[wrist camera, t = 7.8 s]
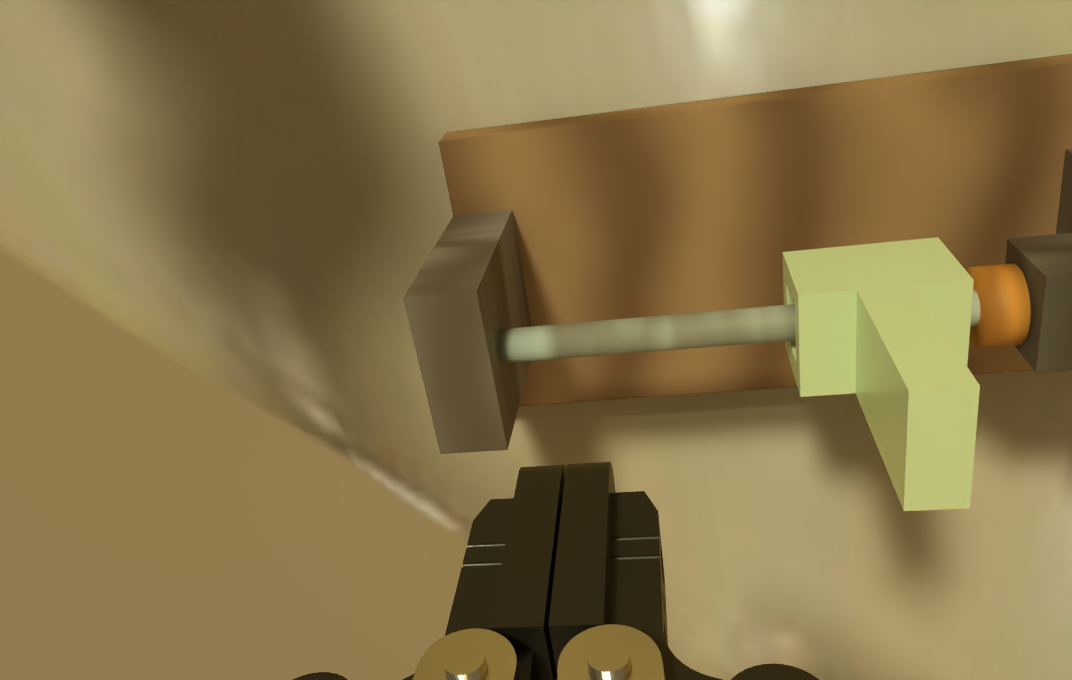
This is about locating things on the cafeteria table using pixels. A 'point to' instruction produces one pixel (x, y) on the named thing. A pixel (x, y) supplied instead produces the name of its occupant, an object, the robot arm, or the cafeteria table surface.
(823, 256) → the pale green tee block
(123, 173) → the cafeteria table surface
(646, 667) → the robot arm
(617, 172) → the lead screw stage
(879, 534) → the cafeteria table surface
